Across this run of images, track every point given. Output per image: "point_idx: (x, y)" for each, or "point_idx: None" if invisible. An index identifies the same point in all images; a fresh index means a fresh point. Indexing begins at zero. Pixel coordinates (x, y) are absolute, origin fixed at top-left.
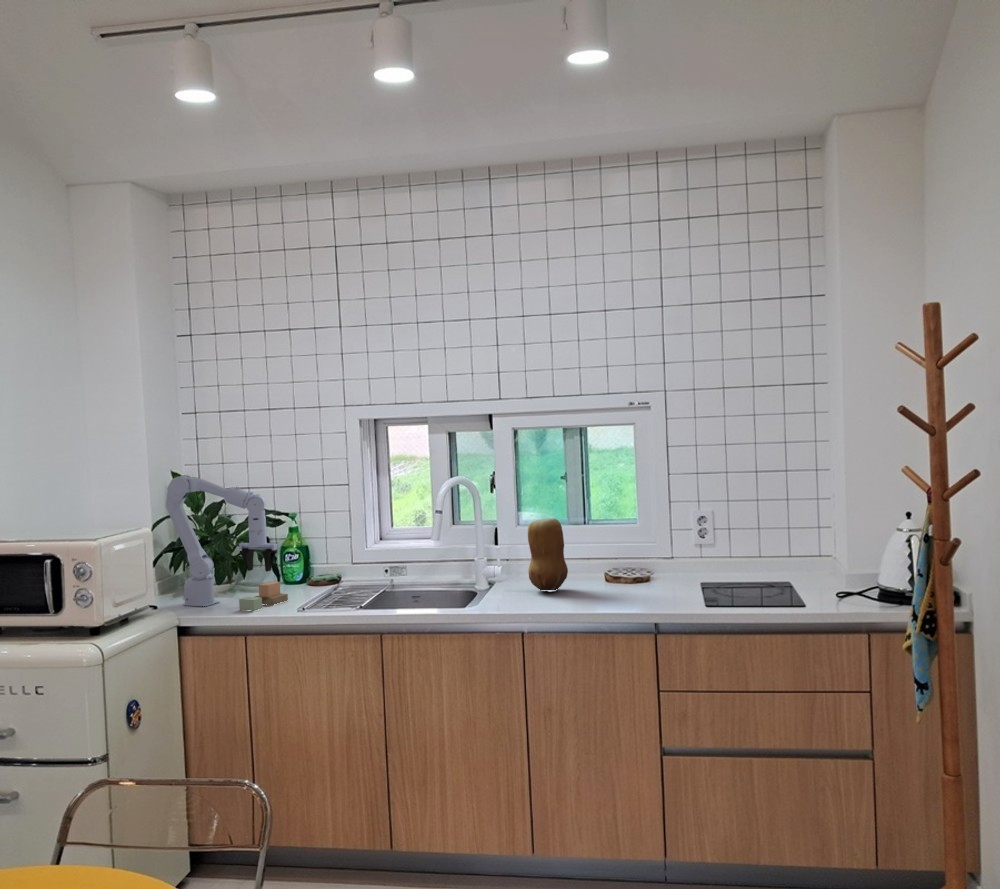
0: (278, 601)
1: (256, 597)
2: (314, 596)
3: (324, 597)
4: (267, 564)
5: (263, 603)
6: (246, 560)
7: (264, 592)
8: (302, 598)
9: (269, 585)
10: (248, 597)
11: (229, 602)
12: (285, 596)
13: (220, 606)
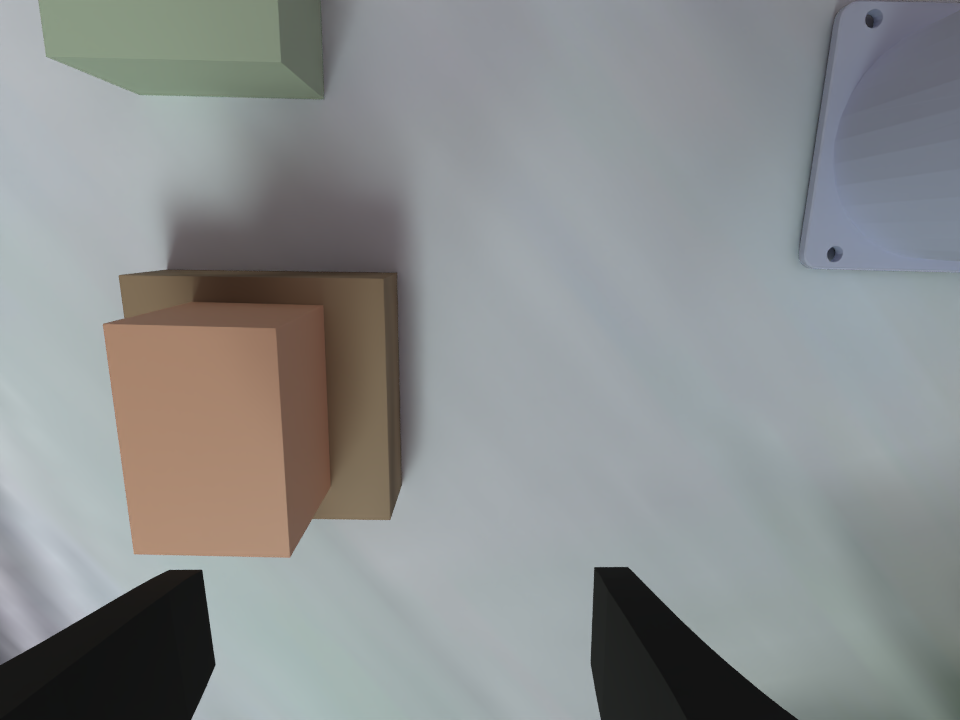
0: None
1: (124, 48)
2: None
3: None
4: (25, 659)
5: (270, 273)
6: (688, 706)
7: (225, 310)
8: None
9: (112, 350)
10: (227, 18)
11: (710, 301)
12: None
13: (679, 104)
